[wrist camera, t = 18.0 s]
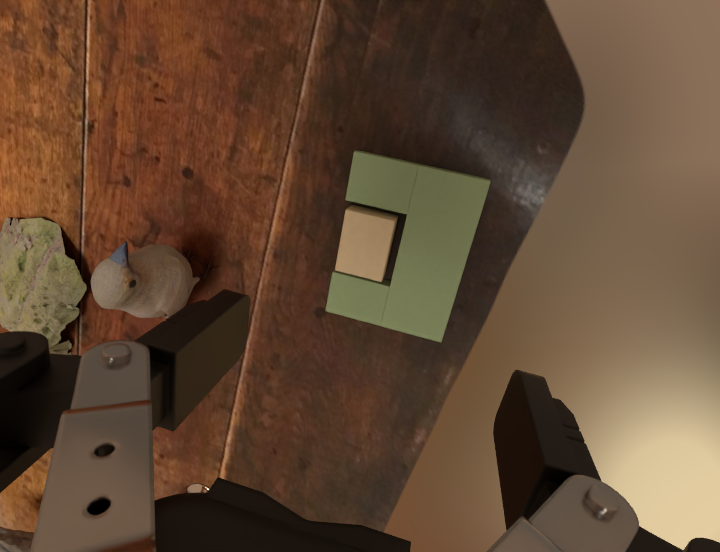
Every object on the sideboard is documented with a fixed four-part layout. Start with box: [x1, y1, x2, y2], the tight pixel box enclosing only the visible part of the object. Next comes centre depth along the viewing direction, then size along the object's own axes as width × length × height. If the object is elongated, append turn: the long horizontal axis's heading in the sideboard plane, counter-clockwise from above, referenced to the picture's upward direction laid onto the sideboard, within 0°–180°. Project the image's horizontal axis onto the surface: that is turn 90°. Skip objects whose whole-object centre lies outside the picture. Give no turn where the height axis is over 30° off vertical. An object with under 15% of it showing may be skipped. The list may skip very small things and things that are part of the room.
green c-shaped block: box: [326, 150, 491, 342], centre depth 39 cm, size 16×12×2 cm
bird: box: [91, 241, 219, 318], centre depth 38 cm, size 5×14×15 cm, turn 153°
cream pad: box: [335, 205, 398, 282], centre depth 39 cm, size 6×5×3 cm
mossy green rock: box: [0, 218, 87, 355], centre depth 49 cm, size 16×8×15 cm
